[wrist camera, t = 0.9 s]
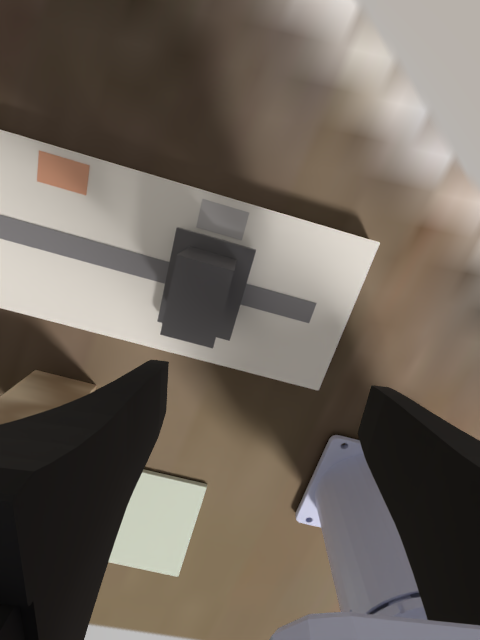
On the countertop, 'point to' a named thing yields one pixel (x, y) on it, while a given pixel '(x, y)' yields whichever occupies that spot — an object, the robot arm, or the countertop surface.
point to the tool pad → (158, 523)
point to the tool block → (40, 395)
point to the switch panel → (168, 260)
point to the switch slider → (203, 287)
